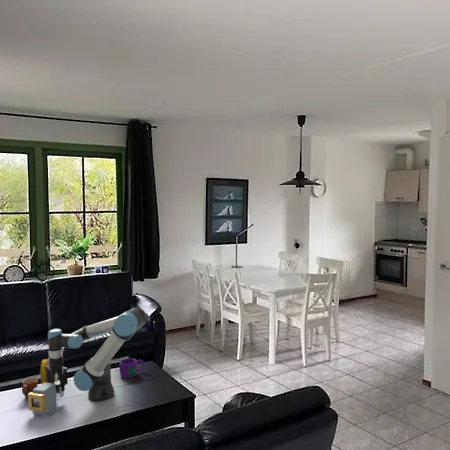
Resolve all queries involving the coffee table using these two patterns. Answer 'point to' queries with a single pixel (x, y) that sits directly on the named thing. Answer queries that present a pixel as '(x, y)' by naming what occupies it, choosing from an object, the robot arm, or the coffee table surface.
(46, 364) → the alarm clock
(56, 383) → the shaft
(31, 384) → the mug
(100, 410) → the coffee table surface
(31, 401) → the frame
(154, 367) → the coffee table surface
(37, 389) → the pillow block
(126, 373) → the mug
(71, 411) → the coffee table surface
